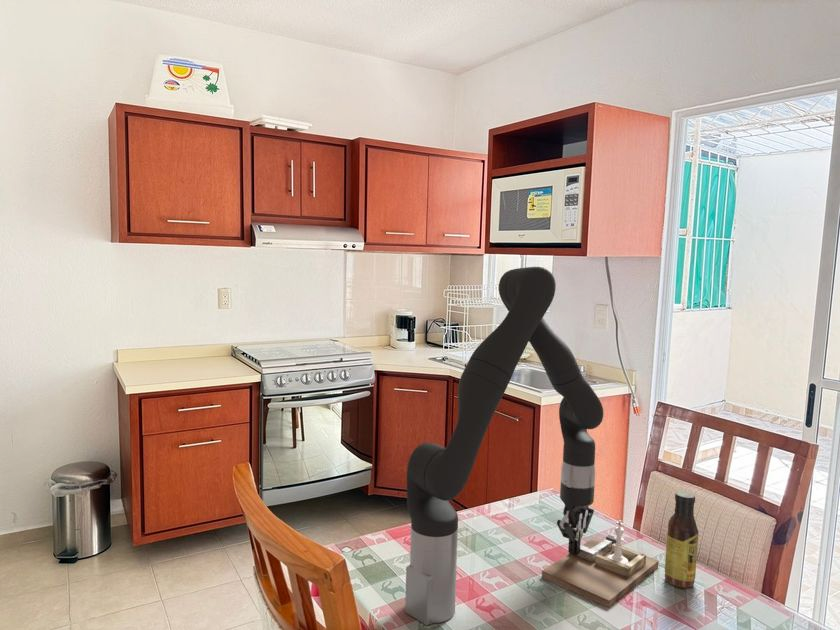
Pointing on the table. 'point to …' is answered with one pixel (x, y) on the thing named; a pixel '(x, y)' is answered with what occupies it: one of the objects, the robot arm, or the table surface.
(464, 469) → the robot arm
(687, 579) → the sauce bottle
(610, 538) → the socket board
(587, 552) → the keeper bolt
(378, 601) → the table surface
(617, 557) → the chess piece
